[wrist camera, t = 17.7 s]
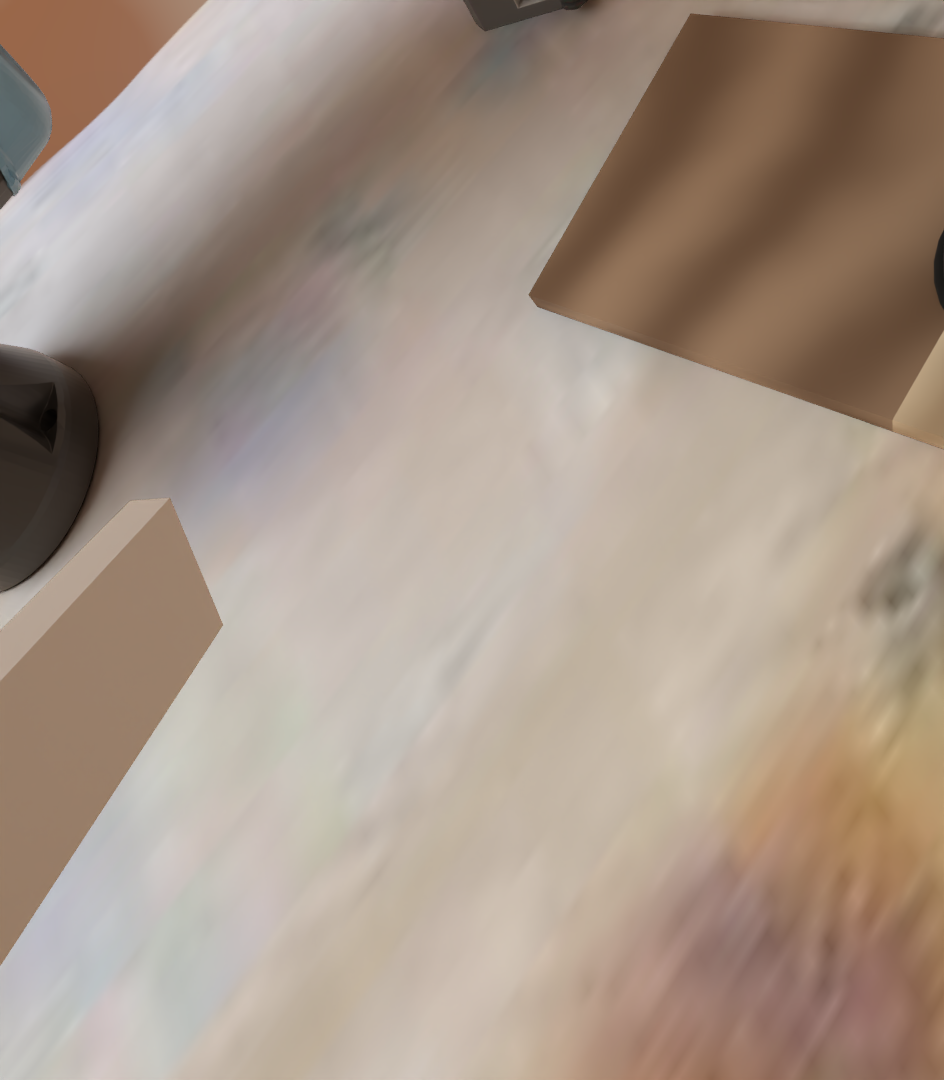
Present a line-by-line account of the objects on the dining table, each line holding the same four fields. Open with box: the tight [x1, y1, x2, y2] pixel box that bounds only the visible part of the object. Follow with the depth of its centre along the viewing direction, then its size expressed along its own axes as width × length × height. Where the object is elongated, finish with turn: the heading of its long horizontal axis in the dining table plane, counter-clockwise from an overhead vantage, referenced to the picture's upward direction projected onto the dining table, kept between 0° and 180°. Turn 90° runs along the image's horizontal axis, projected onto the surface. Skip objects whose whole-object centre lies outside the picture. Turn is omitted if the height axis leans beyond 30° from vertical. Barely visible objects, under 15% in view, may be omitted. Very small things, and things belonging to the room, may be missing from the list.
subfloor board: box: [529, 14, 944, 449], centre depth 29 cm, size 26×14×1 cm, turn 56°
